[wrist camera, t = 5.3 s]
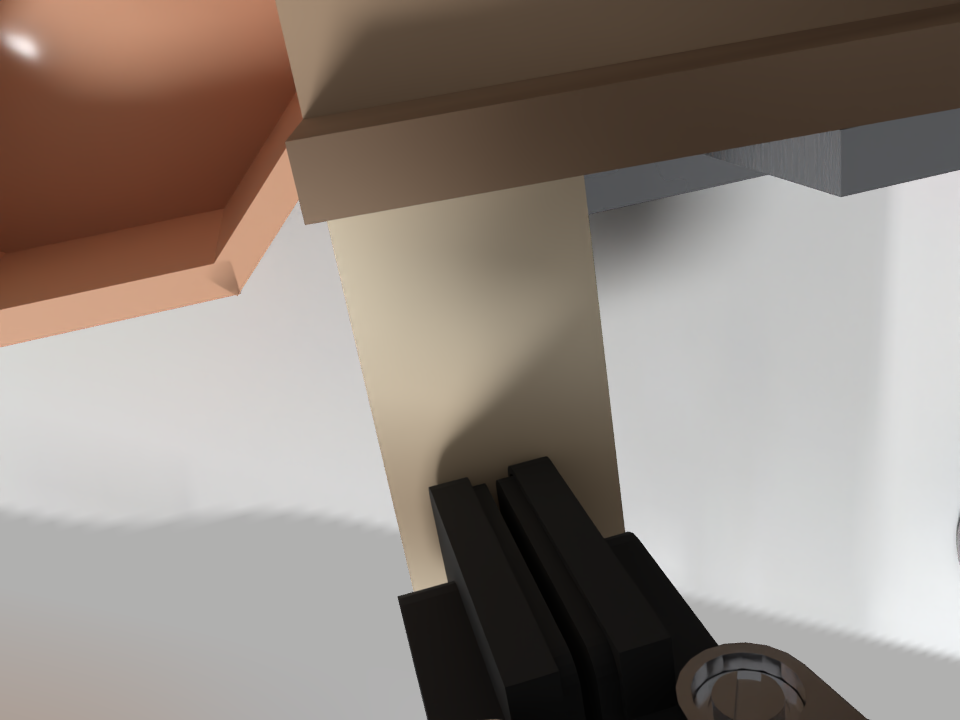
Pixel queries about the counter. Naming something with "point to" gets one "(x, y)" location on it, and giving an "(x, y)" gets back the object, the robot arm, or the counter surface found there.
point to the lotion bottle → (958, 542)
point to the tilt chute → (544, 192)
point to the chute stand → (798, 162)
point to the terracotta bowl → (137, 156)
